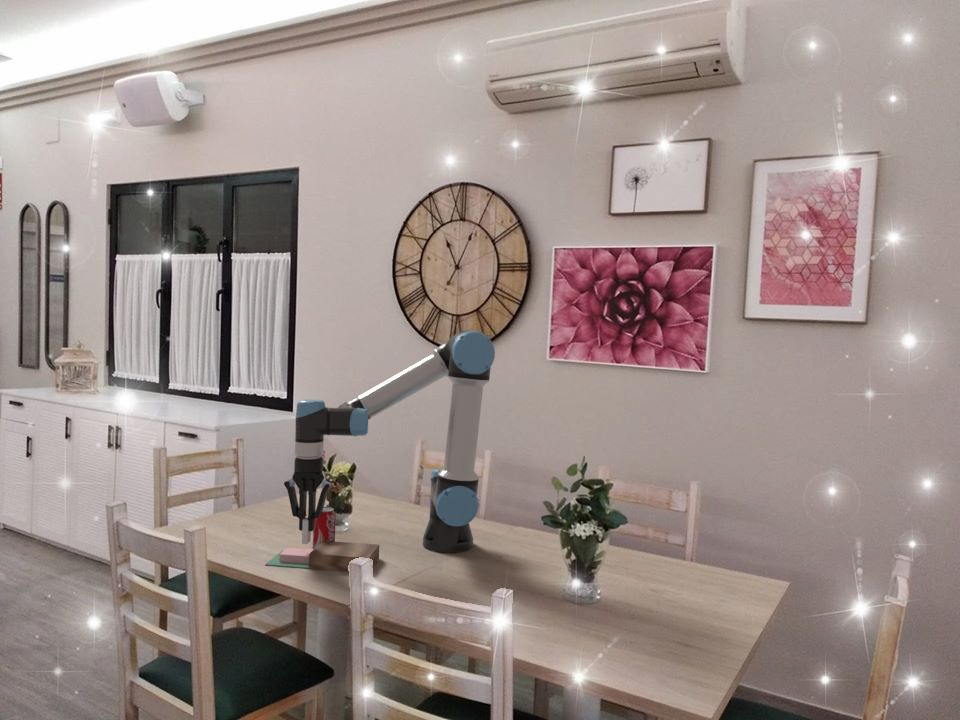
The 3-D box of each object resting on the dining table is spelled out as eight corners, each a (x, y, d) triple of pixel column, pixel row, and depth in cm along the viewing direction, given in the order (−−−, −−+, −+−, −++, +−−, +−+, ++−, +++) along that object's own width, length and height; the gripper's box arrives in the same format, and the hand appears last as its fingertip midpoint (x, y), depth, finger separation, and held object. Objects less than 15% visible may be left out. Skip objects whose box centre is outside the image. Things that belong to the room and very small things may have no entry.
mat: (323, 554, 201) (323, 553, 201) (308, 568, 189) (308, 567, 189) (281, 551, 202) (282, 550, 202) (265, 565, 190) (265, 564, 190)
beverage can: (322, 555, 201) (323, 513, 200) (307, 550, 204) (309, 509, 204) (339, 550, 206) (340, 509, 205) (324, 545, 209) (326, 505, 209)
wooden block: (379, 558, 199) (379, 544, 199) (368, 573, 188) (368, 557, 187) (323, 554, 201) (323, 540, 201) (308, 568, 189) (309, 553, 189)
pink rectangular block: (318, 557, 198) (319, 549, 198) (311, 563, 192) (311, 556, 192) (287, 554, 199) (287, 547, 199) (279, 561, 193) (279, 554, 193)
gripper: (336, 455, 197) (333, 540, 198) (290, 452, 199) (288, 536, 199) (328, 460, 190) (325, 548, 191) (280, 457, 191) (277, 544, 192)
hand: (306, 542), depth 195 cm, fingers closed
